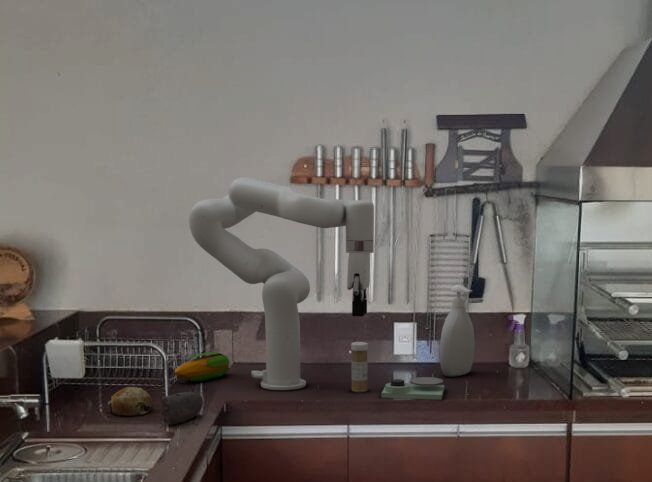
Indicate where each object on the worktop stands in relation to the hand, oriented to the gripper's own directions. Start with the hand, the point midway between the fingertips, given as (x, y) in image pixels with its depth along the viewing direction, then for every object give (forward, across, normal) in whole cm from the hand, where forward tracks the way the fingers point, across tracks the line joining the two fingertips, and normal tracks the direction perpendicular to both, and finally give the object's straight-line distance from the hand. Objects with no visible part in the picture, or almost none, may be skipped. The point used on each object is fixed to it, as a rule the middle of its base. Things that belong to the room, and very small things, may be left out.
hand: (359, 314), depth 243 cm
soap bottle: (+22, -26, +26) cm, 43 cm away
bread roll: (+22, +32, -52) cm, 65 cm away
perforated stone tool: (+22, +38, -36) cm, 57 cm away
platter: (+18, 0, +18) cm, 26 cm away
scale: (+21, +1, +15) cm, 26 cm away
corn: (+22, -8, -47) cm, 52 cm away
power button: (+19, +4, +11) cm, 22 cm away
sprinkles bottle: (+22, 0, 0) cm, 22 cm away
